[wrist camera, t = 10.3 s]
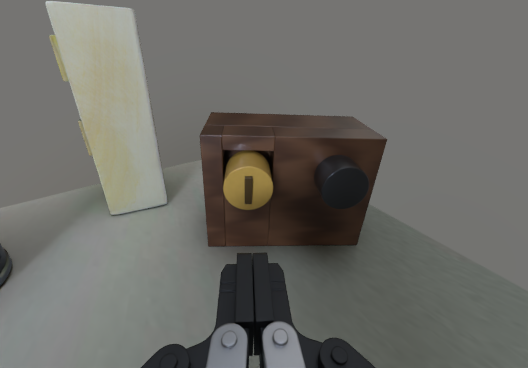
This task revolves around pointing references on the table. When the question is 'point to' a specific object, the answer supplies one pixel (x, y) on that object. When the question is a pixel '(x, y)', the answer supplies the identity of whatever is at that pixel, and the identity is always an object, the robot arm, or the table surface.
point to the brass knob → (248, 180)
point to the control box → (292, 178)
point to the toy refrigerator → (111, 100)
